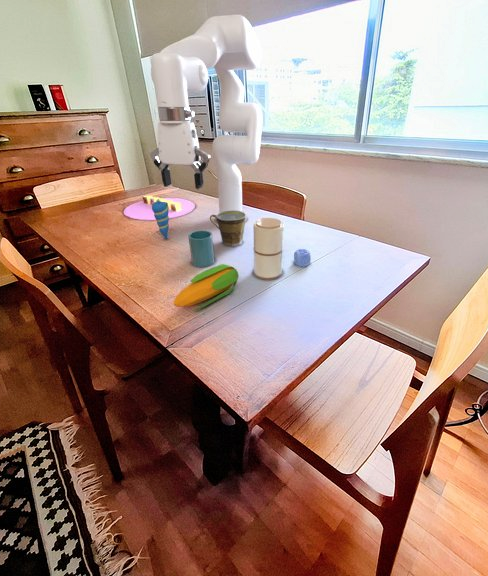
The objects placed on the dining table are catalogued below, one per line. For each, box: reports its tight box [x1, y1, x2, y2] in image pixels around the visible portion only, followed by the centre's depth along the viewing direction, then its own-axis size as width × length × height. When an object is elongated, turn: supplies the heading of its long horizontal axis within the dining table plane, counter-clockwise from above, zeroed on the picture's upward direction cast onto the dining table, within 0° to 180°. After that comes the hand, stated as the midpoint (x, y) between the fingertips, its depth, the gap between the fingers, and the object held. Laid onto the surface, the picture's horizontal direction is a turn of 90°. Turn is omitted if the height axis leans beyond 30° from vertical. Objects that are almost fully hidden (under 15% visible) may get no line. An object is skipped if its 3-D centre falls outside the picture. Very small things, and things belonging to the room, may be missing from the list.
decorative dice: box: [293, 248, 311, 267], centre depth 90 cm, size 4×4×4 cm
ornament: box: [152, 197, 170, 240], centre depth 103 cm, size 5×5×15 cm
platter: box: [123, 194, 196, 221], centre depth 137 cm, size 32×32×3 cm
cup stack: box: [253, 217, 285, 281], centre depth 83 cm, size 8×8×15 cm
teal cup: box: [187, 229, 215, 268], centre depth 90 cm, size 7×7×9 cm
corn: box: [172, 263, 240, 312], centre depth 74 cm, size 7×8×20 cm
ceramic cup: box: [209, 210, 247, 247], centre depth 102 cm, size 13×10×10 cm
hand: (183, 186), depth 83 cm, fingers open, 9 cm apart
